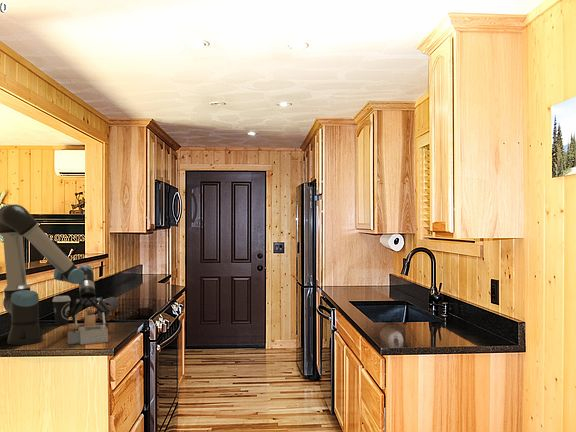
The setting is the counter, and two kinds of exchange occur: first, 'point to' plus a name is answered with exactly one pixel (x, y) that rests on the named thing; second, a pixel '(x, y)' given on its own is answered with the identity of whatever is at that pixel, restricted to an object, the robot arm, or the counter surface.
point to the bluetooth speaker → (112, 302)
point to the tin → (109, 316)
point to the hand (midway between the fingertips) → (90, 326)
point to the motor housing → (88, 335)
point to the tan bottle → (89, 318)
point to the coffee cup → (61, 309)
